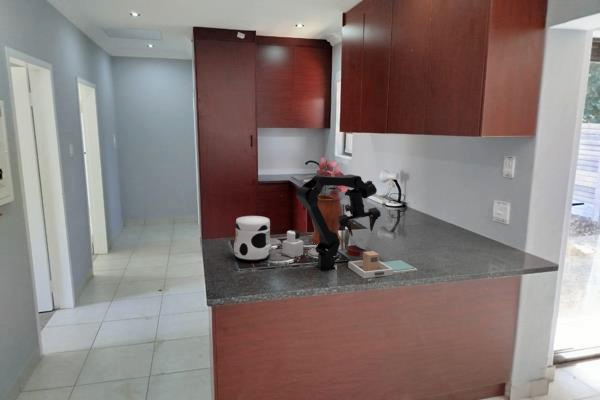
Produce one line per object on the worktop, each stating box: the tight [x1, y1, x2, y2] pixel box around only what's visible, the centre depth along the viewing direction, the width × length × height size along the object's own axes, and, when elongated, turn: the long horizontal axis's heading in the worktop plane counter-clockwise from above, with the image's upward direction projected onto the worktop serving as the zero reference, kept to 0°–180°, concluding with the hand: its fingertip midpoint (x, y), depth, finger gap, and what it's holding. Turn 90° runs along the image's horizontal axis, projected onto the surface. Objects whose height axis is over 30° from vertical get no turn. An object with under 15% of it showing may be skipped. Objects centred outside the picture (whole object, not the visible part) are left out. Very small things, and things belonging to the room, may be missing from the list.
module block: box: [361, 250, 380, 271], centre depth 174 cm, size 5×5×8 cm
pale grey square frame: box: [347, 259, 394, 279], centre depth 174 cm, size 14×15×2 cm
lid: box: [381, 259, 418, 275], centre depth 180 cm, size 13×12×1 cm
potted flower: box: [310, 156, 350, 245], centre depth 213 cm, size 19×25×45 cm
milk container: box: [233, 215, 272, 262], centre depth 186 cm, size 17×17×18 cm
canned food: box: [345, 235, 368, 258], centre depth 198 cm, size 11×10×10 cm
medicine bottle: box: [282, 229, 304, 257], centre depth 192 cm, size 7×7×12 cm
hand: (361, 233), depth 186 cm, fingers open, 9 cm apart
